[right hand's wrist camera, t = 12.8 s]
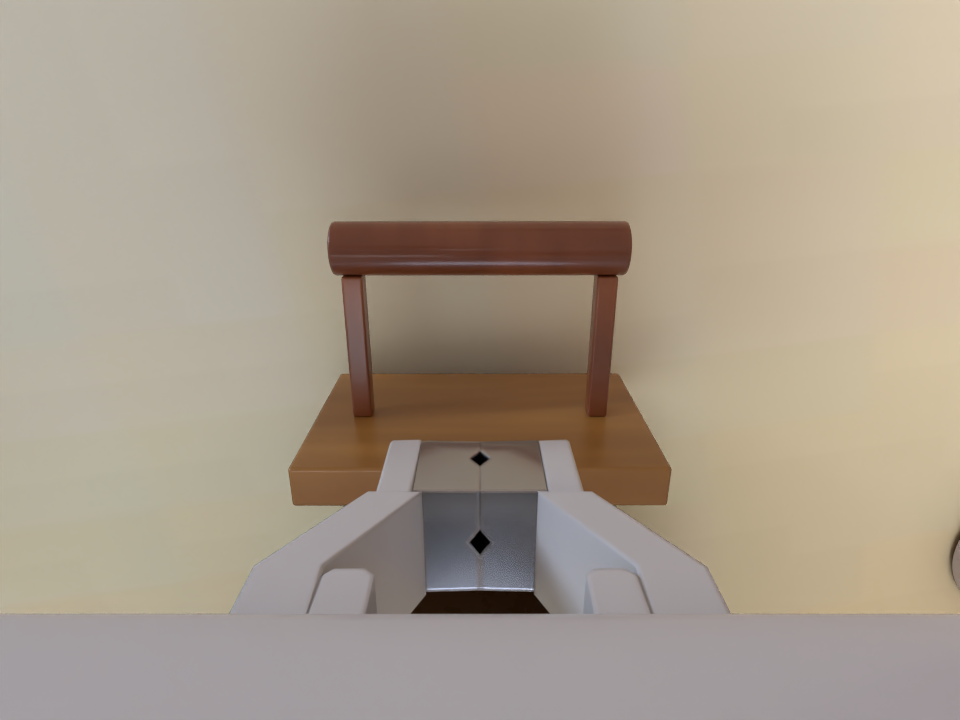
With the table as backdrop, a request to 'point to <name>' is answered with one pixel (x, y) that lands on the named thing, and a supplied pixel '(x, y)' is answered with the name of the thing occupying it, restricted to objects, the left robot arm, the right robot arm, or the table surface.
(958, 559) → the coffee cup
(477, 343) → the table surface
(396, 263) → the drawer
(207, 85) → the table surface
